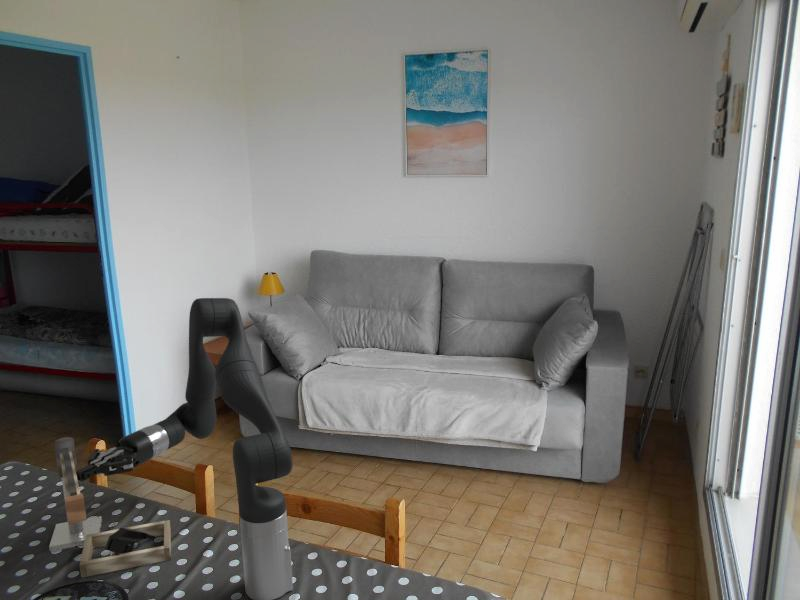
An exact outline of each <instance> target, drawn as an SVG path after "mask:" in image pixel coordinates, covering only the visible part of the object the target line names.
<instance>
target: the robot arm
mask: <svg viewBox="0 0 800 600" xmlns="http://www.w3.org/2000/svg"><path fill="white" fill-rule="evenodd" d="M210 337H225V338H227V340H228V342H227V346H226V348H225V349H224V351H223V352H222V354H221V356H220V358H219V360H218V362H217V365H216V367H215V365H214V363H213V361H212V360H211V358H210V357H209V355H208V353H207V352H206V350H205V347H204V338H210ZM216 386H217V388H218V390H219V395H220V397H221V400H223V402H224V403H225V404H226V405H227V406H228V407H229V408H230V409H232V411H234V412H236V413H237V414H238V415H240V416H241V417H243V419H246V420H248V422H250V423H251V424H253V426H255V428H256V429H258V431H259V434H254V435H249V436H245V437H244V436H243V437H240V438H237V439H236V440H235V441H234V443H233V446H232V461H233V462H232V463H233V468H234V469H233V471H234V474H235V475H234V477H235V482H236V490H237V491H236V492H237V503H238V514H239V515H238V516H239V526H240V539H241V540H240V541H241V551H242V552H241V553H242V566H243V576H244V579H243V581H244V589H245V590H244V591H245V593H246V595H247V596H248V597H249V598H250V599H251V600H277V599H278V598H280V597H283V596H284V595H285V594H286V593H288V592H292V591H293V590H294V586H293V585H294V584H293V570H292V569H293V567H292V554H291V547H290V542H289V531H288V529H289V528H288V516H287V514H288V513H287V501H286V500H287V499H286V496H285V494H284V493H283V492H282V491H281V490H279V489H277V488H273V487H269V486H260V485H257V484H260V483H264V482H269V481H273V480H278V479H281V478H284V477H287V476H288V475H289V474H291V472H292V470H293V463H294V462H293V454H292V450H291V447H290V444H289V441H288V439H287V437H286V434H285V433H284V431H283V428H282V427H281V424H280V421H279V420H278V418H277V416H276V414H275V412H274V409H273V407H272V405H271V403H270V400H269V396H268V394H267V391H266V388H265V385H264V382H263V379H262V376H261V374H260V371H259V368H258V366H257V363H256V361H255V359H254V356H253V353H252V350H251V347H250V344H249V342H248V339H247V336H246V331H245V328H244V324H243V320H242V315H241V312H240V308H239V306H238V304H237V302H236V301H235V300H234V299H231V298H227V297H201V298H196V299H194V300H193V302H192V304H191V307H190V309H189V319H188V375H187V381H186V387H185V395H184V396H185V401H186V402H185V403H182V404H181V405H179V407H178V408H176V409H175V410H174V411H173V412H172V413H171V414H170V415H168V416H167V417H166V418H164V419H162V420H161V421H158V422H155V423H154V424H152V425H149V426H145V427H143V428H140V429H138V430H136V431H134V432H132V433H130V434H128V435H125V436H123V437H121V438H120V439H119V440H118V442H117V445H116V446H114V447H111V448H107V449H106V450H105V451H100V448H96V449H94V450H93V451H92V452H91V454H90V455H89V457H88V458H87V460H86V461H87V465H85V466H84V467H82V468H80V469H78V470H77V471H76V475H77V480H78V481H79V482H85V481H86V480H88V479H91V478H93V477H94V476H101V475H104V477H108V476H112V475H118V474H123V473H130V472H132V471H134V468H137V467H139V466H140V465H143V464H145V463H147V462H149V461H151V460H152V459H154V458H156V457H158V456H160V455H161V454H162V453H163V454H164V452H166V451H167V450H169V449H171V448H173V447H175V446H177V445H179V444H181V443H182V442H183V440H184V439H185V436H186V433H189V434H190V435H191V436H192V437H194V438H196V439H199V440H203V439H206V438H208V437H209V436H211V435H212V434H213V432H214V431H215V428H216V425H217V416H218V415H217V410H216V409H217V408H216V402H215V393H216V389H217V388H216Z"/></svg>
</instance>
